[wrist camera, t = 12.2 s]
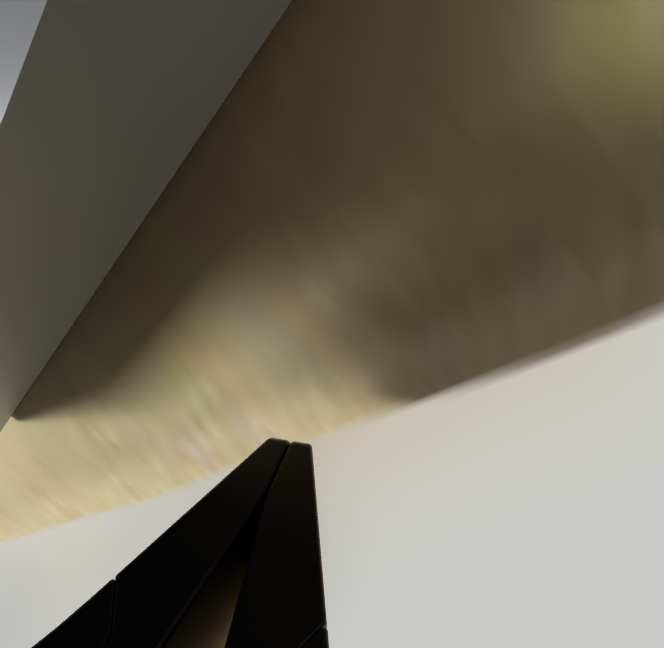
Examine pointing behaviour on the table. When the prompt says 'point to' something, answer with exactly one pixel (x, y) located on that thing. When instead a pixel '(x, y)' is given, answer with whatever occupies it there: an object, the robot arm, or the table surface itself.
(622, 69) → the table surface
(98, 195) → the tray
